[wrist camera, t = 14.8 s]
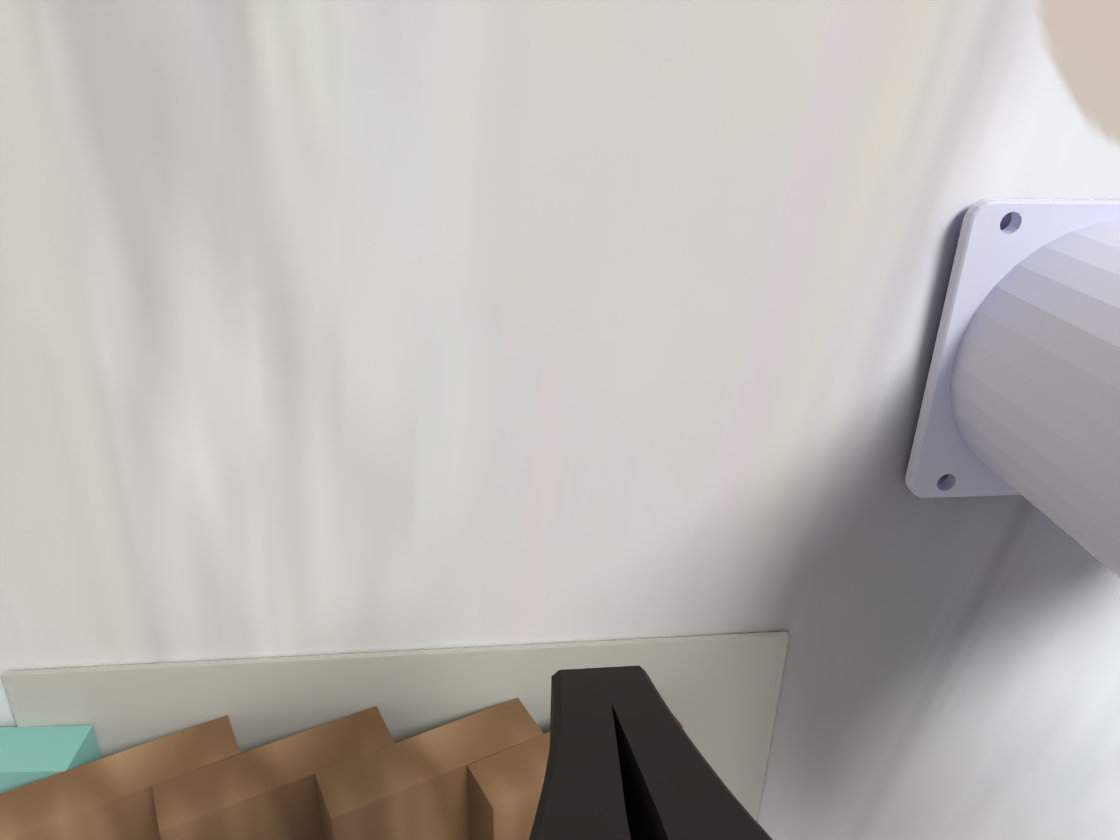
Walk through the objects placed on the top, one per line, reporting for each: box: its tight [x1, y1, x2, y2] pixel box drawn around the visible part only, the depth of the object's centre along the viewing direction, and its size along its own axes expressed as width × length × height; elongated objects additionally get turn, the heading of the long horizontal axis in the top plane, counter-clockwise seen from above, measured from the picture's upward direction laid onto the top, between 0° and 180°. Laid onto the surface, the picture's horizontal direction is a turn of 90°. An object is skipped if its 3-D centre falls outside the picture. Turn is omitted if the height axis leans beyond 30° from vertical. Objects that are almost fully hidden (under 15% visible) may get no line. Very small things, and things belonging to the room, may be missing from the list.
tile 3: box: [152, 706, 395, 840], centre depth 24 cm, size 2×5×6 cm
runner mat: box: [1, 631, 789, 822], centre depth 26 cm, size 22×8×1 cm, turn 89°
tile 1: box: [467, 716, 683, 840], centre depth 25 cm, size 2×5×6 cm
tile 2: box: [315, 698, 543, 840], centre depth 24 cm, size 2×5×6 cm
